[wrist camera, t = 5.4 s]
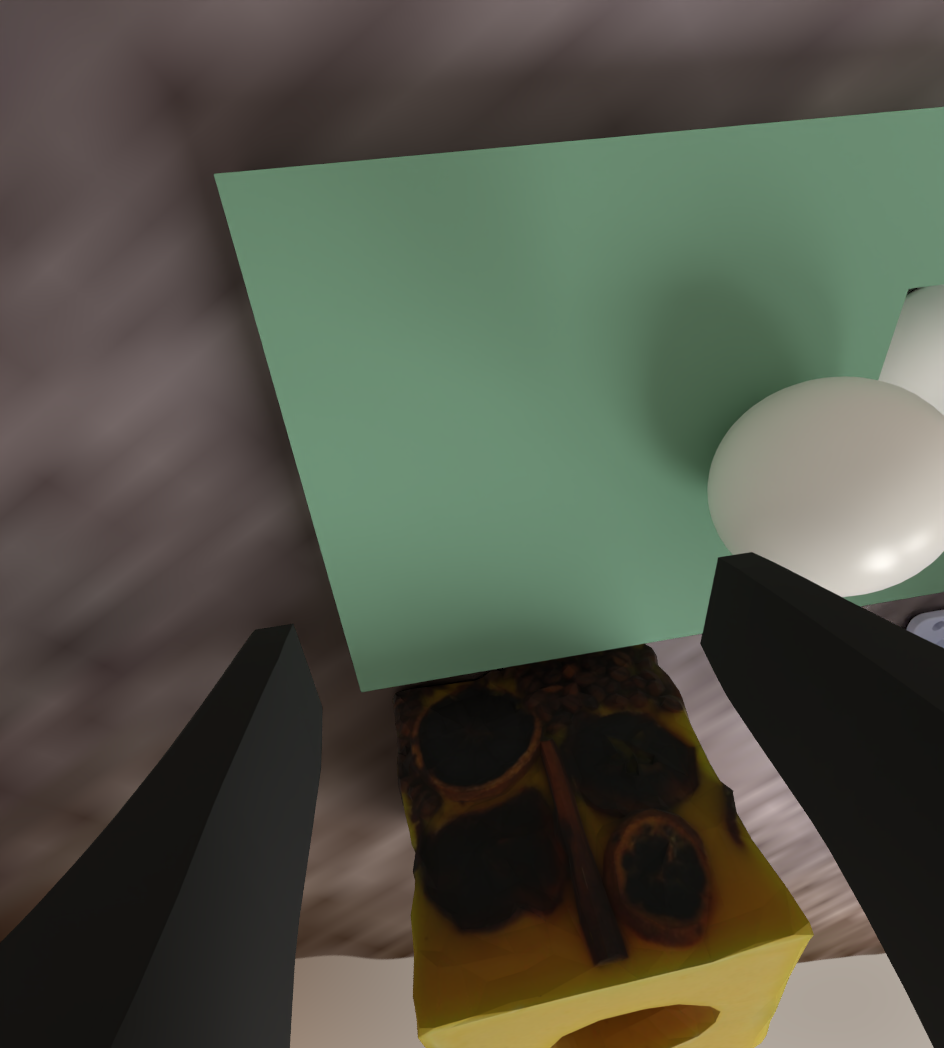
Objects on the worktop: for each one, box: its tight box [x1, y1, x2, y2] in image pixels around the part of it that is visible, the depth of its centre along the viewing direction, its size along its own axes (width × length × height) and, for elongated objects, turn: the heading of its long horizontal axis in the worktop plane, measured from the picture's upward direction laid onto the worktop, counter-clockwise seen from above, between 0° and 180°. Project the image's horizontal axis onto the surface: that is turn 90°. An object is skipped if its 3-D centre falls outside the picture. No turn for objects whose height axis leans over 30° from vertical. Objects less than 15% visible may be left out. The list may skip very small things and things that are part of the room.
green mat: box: [214, 107, 944, 692], centre depth 15 cm, size 24×14×2 cm, turn 94°
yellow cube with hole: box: [393, 644, 814, 1048], centre depth 19 cm, size 10×10×10 cm
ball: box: [707, 376, 944, 597], centre depth 13 cm, size 5×5×5 cm
